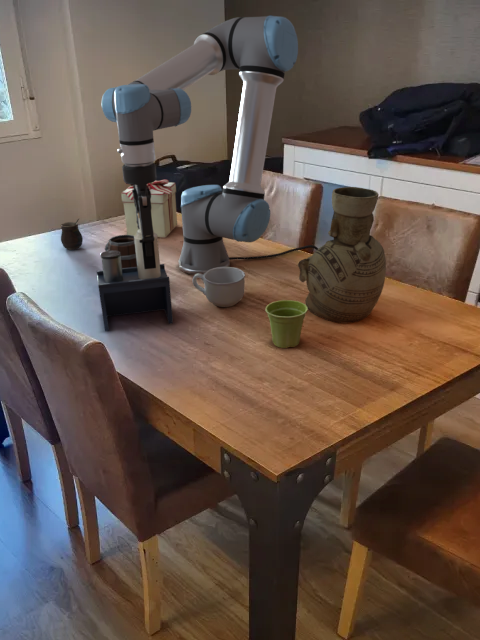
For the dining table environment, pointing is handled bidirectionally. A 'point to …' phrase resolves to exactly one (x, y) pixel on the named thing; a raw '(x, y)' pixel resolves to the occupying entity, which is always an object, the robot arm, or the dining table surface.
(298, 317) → the plant pot
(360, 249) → the ceramic vessel
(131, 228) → the gift box
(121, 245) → the mug
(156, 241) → the oil bottle
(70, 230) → the mate gourd
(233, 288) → the teacup
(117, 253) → the spice tin
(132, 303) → the blue channel bracket
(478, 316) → the dining table surface
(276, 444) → the dining table surface
